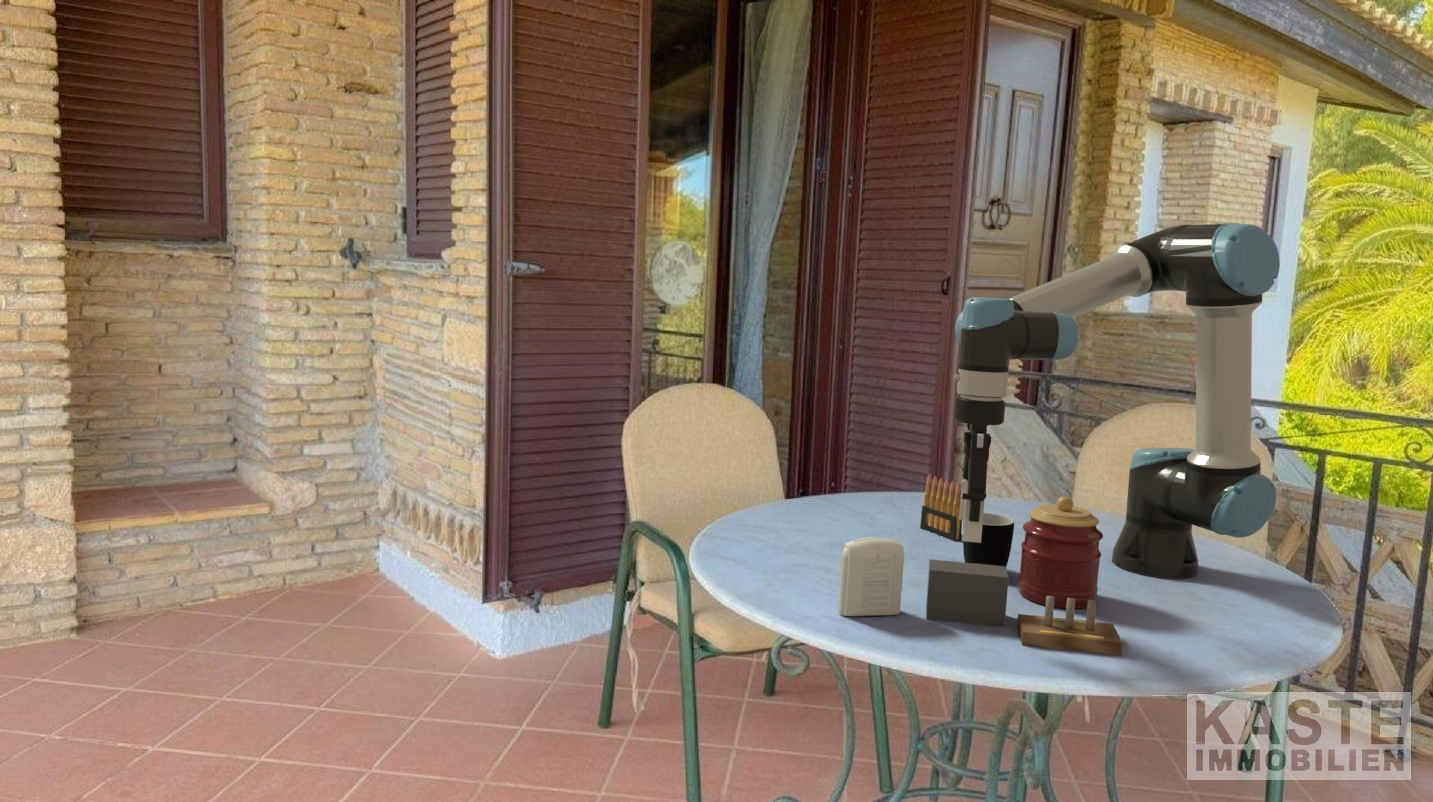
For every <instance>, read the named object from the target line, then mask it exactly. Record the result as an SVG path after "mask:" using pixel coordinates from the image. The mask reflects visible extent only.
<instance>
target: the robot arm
mask: <svg viewBox="0 0 1433 802" xmlns="http://www.w3.org/2000/svg"><path fill="white" fill-rule="evenodd" d="M1280 262H1281V261H1280V253H1279V250H1278V247H1277V245H1276V242H1275V240H1274V238H1273V237H1272V236H1270V234H1268V233H1267V231H1266V230H1265V229H1264V228H1261V227H1260V226H1258V225H1255V224H1249V223H1238V222H1227V223H1226V222H1225V223H1211V224H1207V223H1206V224H1181V225H1174V226H1170V227H1166V228H1163V229H1160V230H1158V231H1155V232H1153V233H1150V234H1148V235H1145V236H1143V237H1140V238H1137V239H1136V240H1133V241H1130V242H1128V243H1126V244H1123V245H1121V246H1119V247H1117V248H1116V249H1114V251H1113V252H1112V253H1111V256H1110V257H1109V256H1108V257H1107V258H1104V259H1101V260H1099V261H1097V262H1095V263H1091V264H1090V265H1087V266H1084V267H1082V268H1080V269H1077V270H1075V271H1072V272H1069V273H1067V274H1065V275H1063V276H1060V277H1058V278H1055V279H1053V280H1050V281H1048V282H1045V283H1043V284H1041V285H1038V286H1035V287H1033V288H1031V289H1028V290H1026V291H1024V292H1021V293H1019V294H1016V295H1014V296H1012V297H1009V298H1000V297H998V298H997V297H982V296H981V297H980V296H973V297H969V298H967V299H966V300H965V302H964V304H963V310H962V311H961V312H960V314H958V317H957V319H956V320H955V326H954V331H955V336H956V338H957V341H958V342H959V357H958V370H957V371H958V373H956V374H955V373H954V374H953V380H954V381H957V384H956V386H957V387H956V393H957V394H958V395H959V396H957V397H956V398H955V401H954V405H955V406H954V419H955V421H957V422H959V423H962V424H966V427H967V430H966V431H964V433H963V444H964V445H963V454H964V457H963V458H964V459H963V466H962V467H961V468H962V481H961V482H962V483H961V504H960V516H959V520H962V521H964V526H963V525H962V537H961V541H962V542H963V541H968V542H978V543H981V536H982V524H983V513H985V512H984V510H985V500H986V498H987V496H988V495H987V477H988V476H987V475H988V473H987V472H988V462H989V459H990V448H991V444H992V436H991V433H987V432H988V426H999V425H1002V424H1003V423H1004V421H1005V411H1006V402H1005V400H1004V399H1003V398H1006V397H1007V393H1008V385H1009V384H1008V381H1009V366H1010V360H1027V361H1028V360H1029V361H1034V360H1035V361H1048V362H1053V361H1063V360H1066V359H1068V358H1069V357H1071V356H1072V355H1073V354H1074V352H1075V351H1076V350H1077V347H1078V344H1079V336H1080V332H1079V327H1078V325H1077V323H1076V321H1075V319H1074V318H1077V317H1079V316H1082V315H1084V314H1087V313H1089V312H1092V311H1094V310H1096V309H1099V308H1101V307H1103V306H1106V305H1108V304H1110V303H1113V302H1116V301H1118V300H1120V299H1123V298H1125V297H1127V296H1130V297H1132V298H1139V297H1142V296H1144V295H1147V294H1150V293H1153V292H1163V291H1172V292H1173V291H1174V292H1175V291H1176V292H1177V291H1178V292H1185V305H1186V307H1187V308H1189V310H1190V311H1191V312H1192V313H1194V314H1195V449H1194V448H1186V447H1184V448H1181V447H1145V448H1144V447H1143V448H1139V449H1137V450H1135V451H1134V452H1133V454H1132V457H1131V464H1130V467H1129V475H1128V476H1129V477H1128V485H1127V486H1128V488H1127V499H1126V500H1127V502H1126V515H1125V522H1124V525H1123V527H1122V529H1121V531H1120V533H1119V534H1118V535H1119V536H1118V538H1117V540H1116V542H1115V544H1114V546H1113V549H1112V556H1111V562H1112V563H1113V564H1114V565H1116V566H1117V567H1119V568H1121V569H1124V570H1127V571H1130V572H1133V573H1137V574H1140V575H1146V576H1151V577H1159V578H1167V579H1168V578H1169V579H1171V578H1172V579H1181V578H1182V579H1184V578H1190V577H1194V576H1196V575H1198V572H1199V557H1198V554H1197V549H1196V545H1195V540H1194V537H1193V531H1192V530H1193V526H1196V527H1198V528H1202V529H1205V530H1208V531H1211V532H1213V533H1215V534H1217V535H1220V536H1221V535H1222V536H1228V537H1231V538H1238V539H1239V538H1240V539H1241V538H1247V537H1250V536H1253V535H1254V534H1256V533H1258V532H1259V531H1260V530H1261V529H1262V528H1263V527H1264V526H1265V524H1266V523H1267V522H1268V521H1269V520H1270V518H1271V517H1272V514H1273V512H1274V510H1275V507H1276V502H1277V488H1276V486H1275V484H1274V483H1273V481H1272V479H1270V478H1268V477H1267V476H1265V474H1261V469H1262V468H1261V461H1262V460H1261V458H1260V456H1259V455H1258V454H1257V453H1255V452H1254V451H1253V450H1252V361H1253V360H1252V355H1253V353H1252V352H1253V351H1252V348H1253V347H1252V346H1253V345H1252V343H1253V339H1252V338H1253V313H1254V311H1255V310H1256V309H1257V308H1259V306H1261V305H1262V304H1263V294H1264V293H1266V292H1268V291H1269V290H1271V288H1273V285H1274V284H1275V281H1274V280H1275V279H1277V278H1278V276H1279V272H1280V264H1281V263H1280Z"/></svg>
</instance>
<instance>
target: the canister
mask: <svg viewBox="0 0 1433 802" xmlns="http://www.w3.org/2000/svg"><path fill="white" fill-rule="evenodd" d="M1028 516H1029V517H1030V520H1027V521H1026V522H1024V524H1022V530H1024V532H1025V535H1024V540H1023V541H1022V542H1021V545H1020V547H1021V555H1020V556H1021V558H1020V568H1019V569H1020V571H1019V576H1018V581H1017V586H1018V592H1019V594H1020V596H1022V597H1023V598H1025V599H1026V600H1028V601H1030V602H1033V603H1035V604H1036V603H1037V604H1039V605H1044V606H1046V596H1053V597H1055V600H1054V608H1061V609H1066V605H1067V598H1074V599H1075V609H1084V608H1087V606H1088V600H1095V601H1097V600H1096V599H1097V597H1098V594H1099V593H1098V591H1099V587H1098V579H1099V571H1100V569H1099V568H1100V560H1101V557H1102V553H1101V551H1100V549H1099V548H1100V546H1099V545H1100V541H1101V540H1102V539H1103V538H1104V534H1103V533H1102V531H1101V530H1099V529H1098V528H1097V525H1099V523H1100V520H1099V518H1097V517H1096V516H1095V515H1093V514H1092V513H1091V511H1089V510H1088V509H1084V508H1082V507H1078V506H1075V505H1074V502H1073V500H1072V499H1071V498H1070V497H1068V496H1060V497H1058V499H1057V501H1056V504H1055V503H1051V504H1050V503H1049V504H1041V505H1039V506H1037V508H1034V509H1032V510H1030V511H1029V512H1028Z"/></svg>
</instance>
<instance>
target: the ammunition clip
mask: <svg viewBox="0 0 1433 802" xmlns="http://www.w3.org/2000/svg"><path fill="white" fill-rule="evenodd" d="M955 485H956V486H955ZM961 491H962V485H961V483H960V482H958V483H957V484H955V481H954V480H952V481H951V483H949V480H948V479H947V478H946V480H945V482H944V480H943V478H942V477H940V479H939V481H938V477H937V475H935V476H934V478H933V480H932V475H931V473H929V474H928V476H927V479H926V485H925V491H924V498H923V505H922V506H921V517H920V525H919V529H920V530H922V531H923V530H924V531H925V530H927V531H926V532H928V531H929V532H928V533H931V534H933V533H935V534H934V535H936V534H937V536H939V537H941V536H943V537H942V538H943V539H947V540H949V539H950V541H953V542H957V541H962V531H963V520H959V516H960V504H961Z"/></svg>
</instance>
